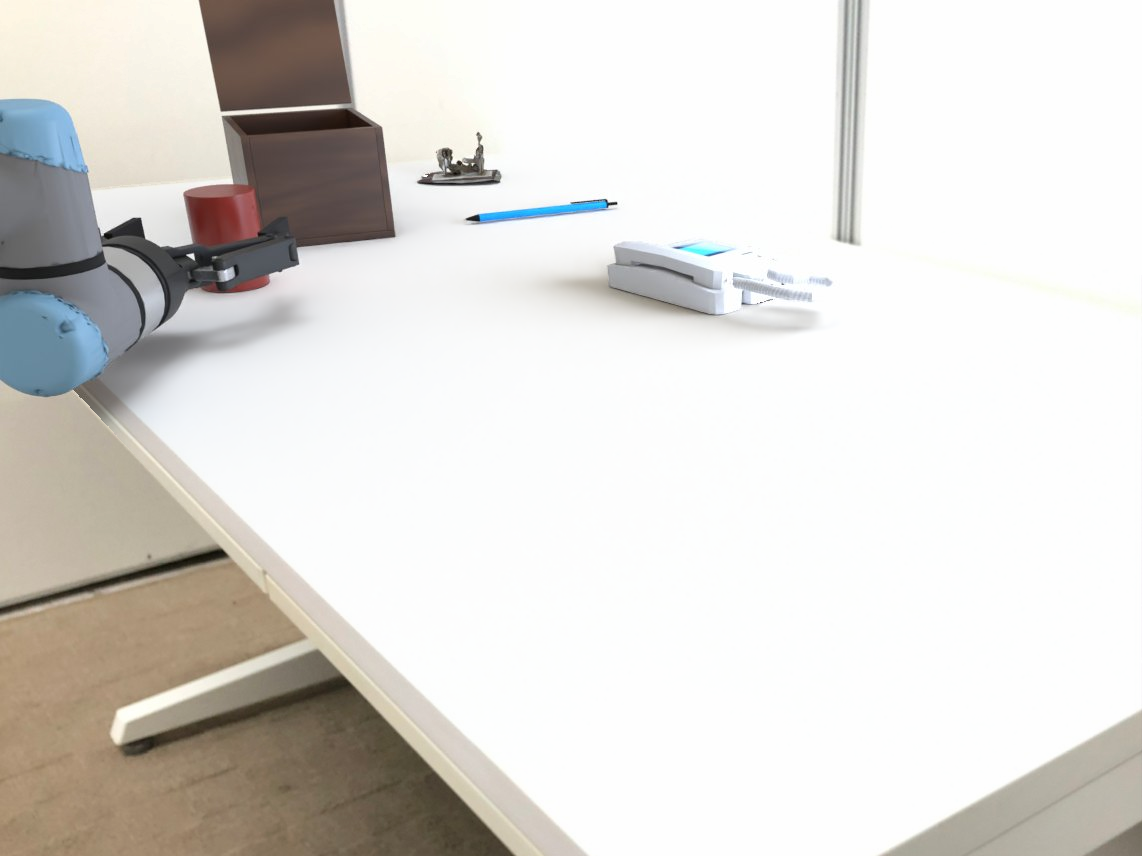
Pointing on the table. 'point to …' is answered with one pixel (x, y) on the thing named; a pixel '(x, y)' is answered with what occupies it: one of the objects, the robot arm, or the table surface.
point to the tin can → (224, 220)
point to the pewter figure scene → (461, 168)
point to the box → (314, 172)
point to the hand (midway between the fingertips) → (213, 231)
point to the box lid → (275, 53)
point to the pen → (543, 210)
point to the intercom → (714, 275)
